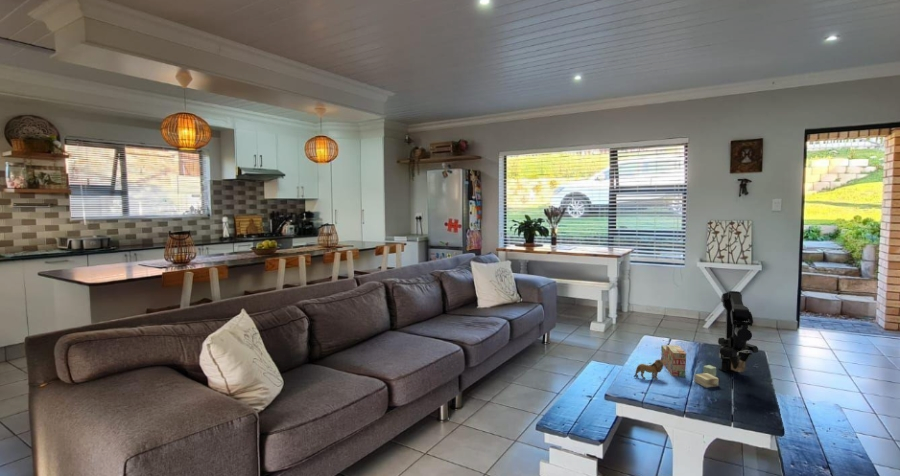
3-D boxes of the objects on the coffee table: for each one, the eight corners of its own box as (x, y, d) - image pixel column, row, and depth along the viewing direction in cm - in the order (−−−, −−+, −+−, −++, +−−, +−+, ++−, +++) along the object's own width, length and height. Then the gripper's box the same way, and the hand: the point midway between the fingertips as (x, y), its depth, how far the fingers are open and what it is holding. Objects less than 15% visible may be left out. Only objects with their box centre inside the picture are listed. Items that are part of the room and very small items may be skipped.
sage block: (708, 373, 230) (709, 365, 229) (715, 376, 226) (716, 367, 226) (703, 374, 228) (703, 366, 228) (710, 377, 224) (710, 368, 224)
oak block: (706, 381, 221) (707, 373, 220) (718, 386, 214) (718, 378, 214) (694, 382, 219) (694, 374, 219) (705, 387, 212) (706, 379, 212)
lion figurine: (659, 375, 227) (660, 357, 227) (665, 379, 222) (666, 361, 221) (631, 375, 227) (631, 358, 226) (636, 380, 221) (636, 362, 221)
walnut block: (736, 368, 215) (737, 358, 214) (745, 371, 211) (745, 361, 211) (730, 369, 213) (731, 360, 213) (739, 372, 209) (739, 362, 209)
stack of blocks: (660, 361, 247) (661, 339, 246) (673, 362, 246) (674, 340, 245) (672, 376, 226) (672, 352, 225) (685, 377, 225) (686, 353, 224)
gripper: (736, 328, 222) (735, 359, 223) (709, 332, 215) (708, 364, 216) (759, 334, 211) (758, 367, 213) (732, 339, 204) (730, 373, 206)
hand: (737, 367), depth 212 cm, fingers closed on walnut block, 4 cm apart
